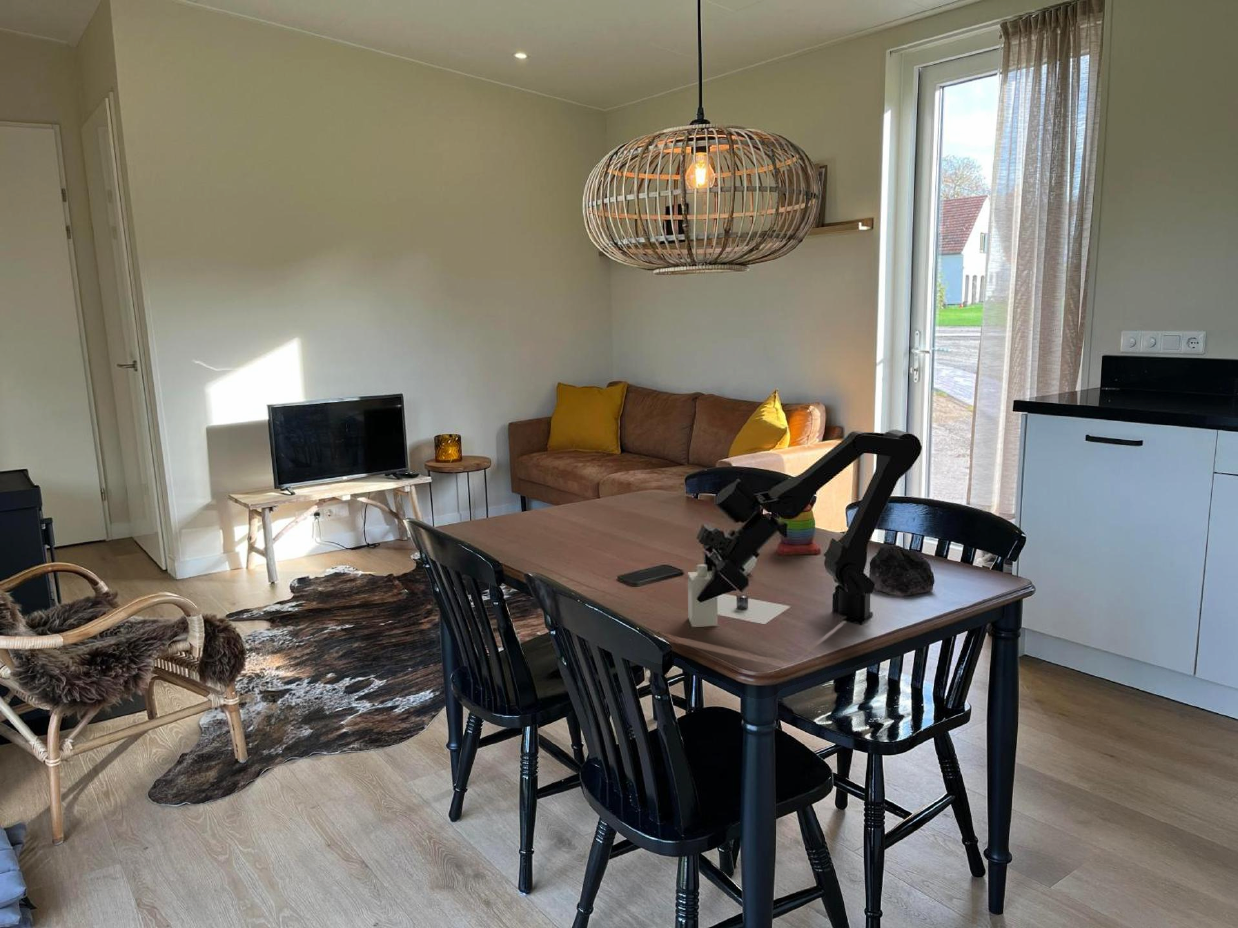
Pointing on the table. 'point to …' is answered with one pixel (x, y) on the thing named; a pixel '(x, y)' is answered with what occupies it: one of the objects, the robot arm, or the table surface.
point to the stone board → (749, 609)
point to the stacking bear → (799, 535)
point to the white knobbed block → (705, 610)
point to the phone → (650, 575)
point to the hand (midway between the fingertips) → (695, 594)
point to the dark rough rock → (900, 571)
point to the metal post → (742, 602)
